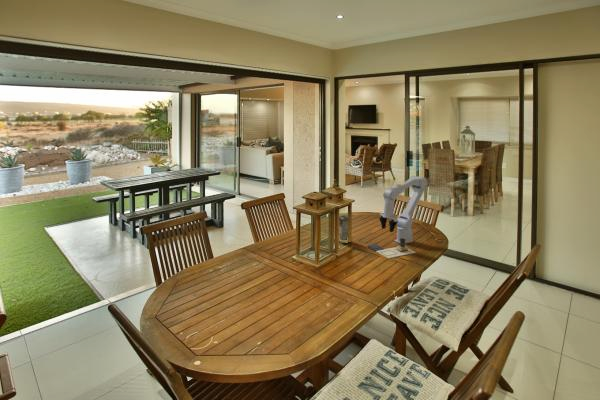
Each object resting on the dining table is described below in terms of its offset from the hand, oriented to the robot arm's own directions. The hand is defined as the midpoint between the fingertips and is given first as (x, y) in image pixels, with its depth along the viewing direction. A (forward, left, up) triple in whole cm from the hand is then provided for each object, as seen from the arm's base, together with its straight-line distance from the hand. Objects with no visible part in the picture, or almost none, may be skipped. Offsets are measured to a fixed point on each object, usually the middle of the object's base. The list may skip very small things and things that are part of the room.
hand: (387, 230), depth 225 cm
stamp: (-3, +11, -10) cm, 15 cm away
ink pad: (+9, 0, -10) cm, 14 cm away
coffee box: (+20, -20, -11) cm, 30 cm away
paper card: (+2, +11, -10) cm, 15 cm away
